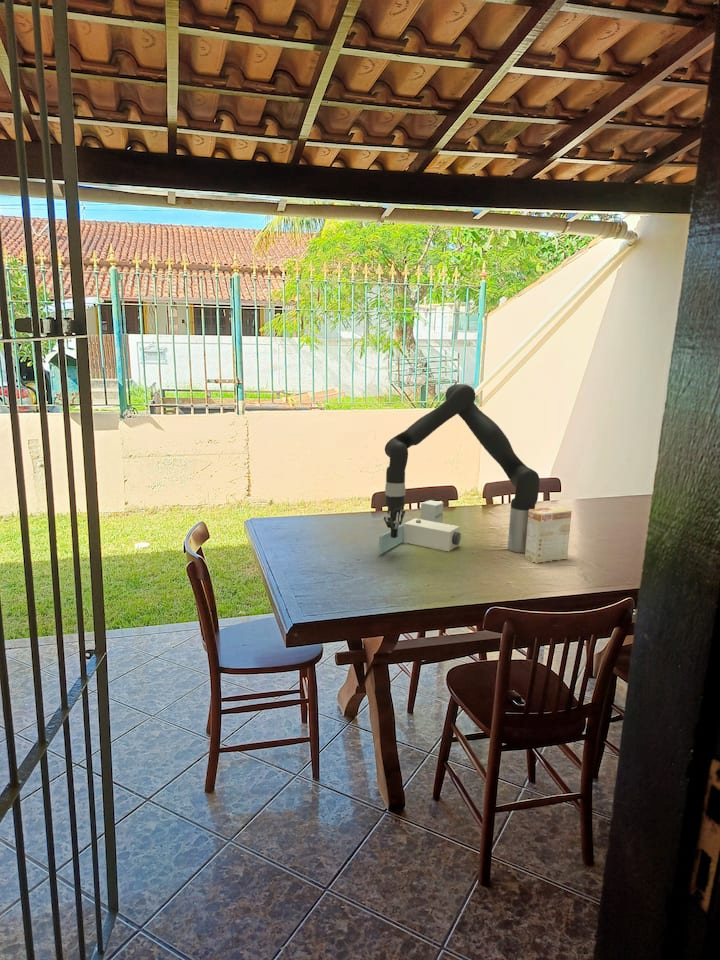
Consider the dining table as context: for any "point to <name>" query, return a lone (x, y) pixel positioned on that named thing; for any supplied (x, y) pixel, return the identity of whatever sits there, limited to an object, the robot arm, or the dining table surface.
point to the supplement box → (432, 511)
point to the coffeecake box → (547, 534)
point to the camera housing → (431, 534)
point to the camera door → (390, 540)
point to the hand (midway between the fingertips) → (394, 537)
